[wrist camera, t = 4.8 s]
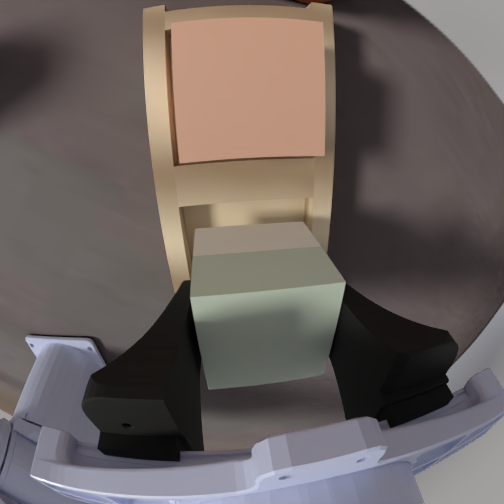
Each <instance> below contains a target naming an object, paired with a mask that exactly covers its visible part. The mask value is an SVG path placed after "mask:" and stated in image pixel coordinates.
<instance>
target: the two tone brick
mask: <svg viewBox="0 0 504 504" xmlns="http://www.w3.org/2000/svg"><path fill="white" fill-rule="evenodd" d="M345 284H346V281H345V280H344V278H343V277H342V276H341V274H340V273H339V271H338V270H337V268H336V267H335V265H334V264H333V262H332V261H331V260H330V258H329V257H328V255H327V254H326V253H325V251H324V250H323V248H322V247H321V246H320V244H319V243H318V241H317V240H316V239H315V237H314V236H313V234H312V233H311V232H310V230H309V229H308V228H307V226H306V225H305V223H304V222H285V223H268V224H253V225H238V226H224V227H211V228H198V229H195V235H194V247H193V259H192V273H191V289H190V300H191V306H192V311H193V317H194V322H195V328H196V333H197V338H198V343H199V348H200V353H201V358H202V363H203V368H204V372H205V377H206V381H207V386H208V390H210V389H223V388H234V387H244V386H253V385H262V384H269V383H277V382H283V381H290V380H296V379H302V378H308V377H313V376H319V375H324V372H325V369H326V365H327V361H328V357H329V354H330V350H331V346H332V342H333V338H334V334H335V330H336V326H337V321H338V317H339V312H340V308H341V303H342V299H343V294H344V289H345Z"/></svg>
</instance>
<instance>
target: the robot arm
mask: <svg viewBox="0 0 504 504" xmlns="http://www.w3.org/2000/svg"><path fill="white" fill-rule="evenodd" d="M190 289H191V280H184V281H183V282H182V283H181V285H180V287H179V288H178V290H177V292H176V293H175V295H174V297H173V298H172V300H171V301H170V303H169V304H168V306H167V307H166V309H165V310H164V311H163V313H162V314H161V315H160V317H159V318H158V319H157V321H156V322H155V323H154V324H153V326H152V327H151V328H150V329H149V330H148V331H147V332H146V333H145V335H144V336H143V337H142V338H141V339H140V340H138V341H137V342H136V343H135V344H134V345H133V346H132V347H131V348H130V349H128V350H127V351H126V352H125V353H123V354H122V355H121V356H119V357H118V358H117V359H115V360H114V361H112V362H111V363H109V364H108V365H106V364H105V362H104V360H103V358H102V356H101V355H100V353H99V351H98V349H97V347H96V345H95V343H94V342H93V340H91V339H90V338H70V337H48V336H33V335H27V337H26V342H27V343H28V345H29V346H30V348H31V349H32V351H33V353H34V354H35V356H36V357H37V359H36V361H35V363H34V365H33V367H32V370H31V372H30V374H29V377H28V379H27V381H26V384H25V386H24V388H23V391H22V393H21V396H20V399H19V401H18V404H17V406H16V409H15V412H14V415H13V418H12V420H10V421H8V420H7V419H5V418H2V419H0V504H424V501H423V498H422V496H421V493H420V490H419V488H418V485H417V482H416V480H415V477H414V475H416V474H418V473H420V472H422V471H424V470H426V469H428V468H430V467H431V466H433V465H435V464H437V463H439V462H441V461H442V460H444V459H445V458H447V457H449V456H451V455H452V454H454V453H456V452H457V451H459V450H460V449H462V448H464V447H465V446H467V445H468V444H470V443H472V442H473V441H475V440H476V439H478V438H479V437H481V436H482V435H484V434H485V433H486V432H487V431H488V430H489V429H491V428H492V427H493V426H494V425H495V424H496V423H497V421H499V420H500V419H501V418H502V417H503V416H504V389H503V387H502V386H501V384H500V382H499V381H498V380H497V378H496V377H495V375H494V374H493V372H492V371H491V369H490V368H487V369H485V370H483V371H481V372H479V373H477V374H475V375H474V376H473V377H471V378H470V379H469V381H468V382H467V383H466V385H465V386H464V388H462V389H461V390H458V391H456V392H454V393H451V391H450V389H449V388H448V386H447V383H448V381H449V379H448V378H447V376H446V373H447V371H448V369H449V368H450V366H451V365H452V363H453V361H454V360H455V358H456V356H457V352H458V345H457V343H456V342H455V341H454V339H453V338H452V336H451V335H450V334H449V332H448V331H446V330H442V329H438V328H433V327H429V326H426V325H423V324H419V323H416V322H414V321H411V320H408V319H406V318H403V317H401V316H399V315H396V314H394V313H392V312H390V311H388V310H386V309H384V308H383V307H381V306H379V305H377V304H375V303H374V302H372V301H370V300H369V299H367V298H366V297H364V296H363V295H361V294H360V293H358V292H357V291H356V290H354V289H353V288H351V287H350V286H349V285H347V284H345V289H344V294H343V299H342V303H341V308H340V312H339V317H338V321H337V326H336V330H335V334H334V338H333V342H332V346H331V350H330V354H329V358H330V360H331V363H332V366H333V369H334V372H335V376H336V379H337V383H338V387H339V391H340V395H341V399H342V403H343V408H344V412H345V417H346V421H342V422H337V423H333V424H329V425H324V426H319V427H314V428H309V429H304V430H298V431H292V432H286V433H281V434H277V435H273V436H269V437H267V438H265V439H262V440H260V441H258V442H257V443H256V444H255V445H254V447H253V448H248V449H237V450H221V451H204V445H203V434H202V421H201V404H200V368H201V353H200V348H199V343H198V338H197V333H196V328H195V322H194V317H193V311H192V306H191V300H190Z"/></svg>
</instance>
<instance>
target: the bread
mask: <svg viewBox="0 0 504 504" xmlns="http://www.w3.org/2000/svg"><path fill="white" fill-rule="evenodd" d="M297 1H301V2H305V3H308V4H310V3H311V2H314V3H322V2H326V1H331V0H297Z"/></svg>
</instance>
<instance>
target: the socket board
mask: <svg viewBox="0 0 504 504" xmlns="http://www.w3.org/2000/svg"><path fill="white" fill-rule="evenodd" d="M240 17H261V18H285V19H299V20H309V21H317V22H323V30H324V51H325V156H283V157H256V158H238V159H223V160H211V161H200V162H189V163H180V164H179V154H178V143H177V132H176V120H175V106H174V90H173V71H172V44H171V23H176V22H184V21H193V20H203V19H216V18H240ZM143 59H144V81H145V97H146V110H147V121H148V132H149V141H150V150H151V159H152V167H153V174H154V182H155V189H156V195H157V202H158V208H159V214H160V220H161V226H162V232H163V237H164V243H165V248H166V253H167V258H168V263H169V268H170V273H171V277H172V282H173V287H174V291H175V293H176V292H177V290H178V288H179V287H180V285H181V283H182V282H183V281H184V280H191V273H192V259H193V247H194V235H195V229H198V228H211V227H224V226H238V225H253V224H268V223H285V222H304V223H305V225H306V226H307V228H308V229H309V230H310V232H311V233H312V234H313V236H314V237H315V239H316V240H317V241H318V243H319V244H320V246H321V247H322V248H323V250H324V251H325V253H326V254H327V249H328V240H329V229H330V218H331V205H332V191H333V174H334V153H335V116H336V81H335V46H334V27H333V12H332V5H328V4H321V3H314V2H311V3H310V4H309V5H308V6H307V7H306V8H298V7H286V6H267V5H230V6H211V7H199V8H189V9H181V10H174V11H168V10H167V8H166V6H165V5H161V6H155V7H150V8H145V9H143Z"/></svg>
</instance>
